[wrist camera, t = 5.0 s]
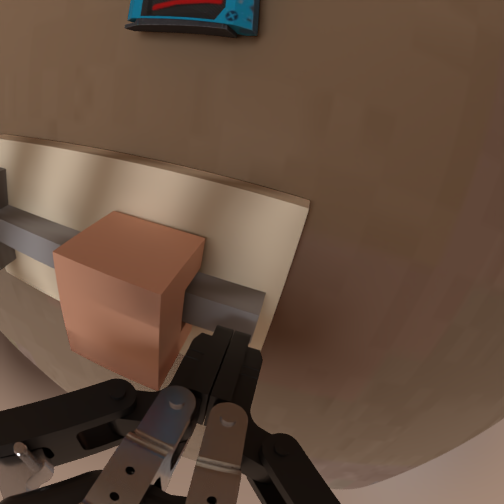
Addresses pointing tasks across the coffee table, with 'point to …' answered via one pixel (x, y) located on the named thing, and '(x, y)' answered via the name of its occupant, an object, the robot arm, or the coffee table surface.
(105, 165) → the rail board
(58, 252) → the slider block
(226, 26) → the handgun
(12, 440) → the robot arm
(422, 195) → the coffee table surface
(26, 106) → the coffee table surface
